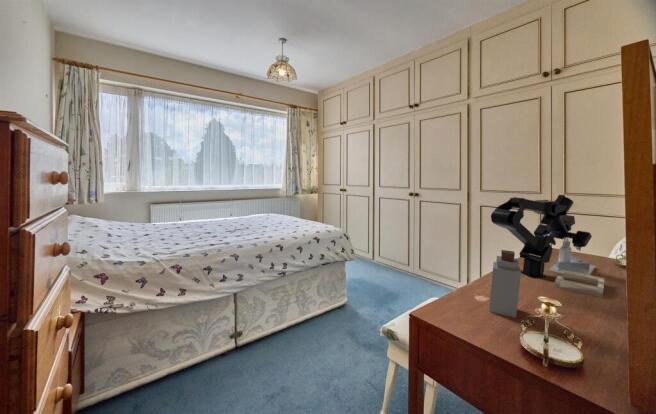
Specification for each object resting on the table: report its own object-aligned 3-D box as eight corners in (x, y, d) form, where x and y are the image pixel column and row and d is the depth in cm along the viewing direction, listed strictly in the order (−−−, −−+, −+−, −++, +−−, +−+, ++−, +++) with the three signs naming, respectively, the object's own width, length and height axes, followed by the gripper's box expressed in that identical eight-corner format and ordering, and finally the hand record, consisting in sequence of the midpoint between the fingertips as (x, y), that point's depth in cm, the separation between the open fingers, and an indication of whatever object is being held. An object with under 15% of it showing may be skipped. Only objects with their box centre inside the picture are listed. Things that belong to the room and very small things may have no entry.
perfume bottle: (515, 308, 88) (521, 251, 86) (516, 318, 82) (522, 256, 80) (489, 302, 91) (494, 247, 89) (489, 311, 86) (494, 253, 83)
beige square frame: (602, 297, 96) (603, 290, 95) (554, 286, 105) (555, 279, 104) (603, 284, 107) (604, 278, 106) (560, 275, 116) (561, 269, 115)
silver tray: (549, 270, 121) (550, 261, 120) (560, 260, 134) (561, 252, 133) (587, 279, 112) (588, 269, 111) (594, 267, 125) (596, 258, 125)
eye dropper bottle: (553, 263, 127) (556, 236, 126) (565, 263, 127) (569, 236, 126) (561, 266, 123) (564, 239, 121) (574, 266, 123) (578, 239, 121)
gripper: (592, 212, 111) (603, 237, 117) (540, 206, 128) (552, 228, 134) (578, 234, 109) (590, 258, 115) (527, 225, 126) (540, 247, 132)
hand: (567, 247), depth 124 cm, fingers open, 9 cm apart
